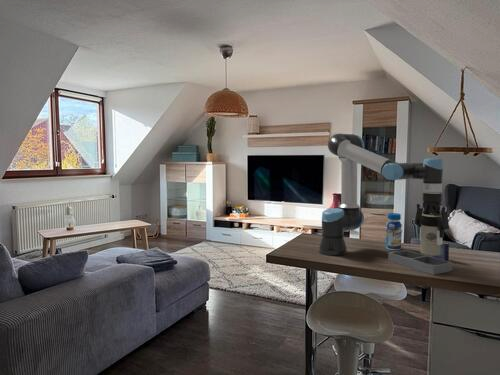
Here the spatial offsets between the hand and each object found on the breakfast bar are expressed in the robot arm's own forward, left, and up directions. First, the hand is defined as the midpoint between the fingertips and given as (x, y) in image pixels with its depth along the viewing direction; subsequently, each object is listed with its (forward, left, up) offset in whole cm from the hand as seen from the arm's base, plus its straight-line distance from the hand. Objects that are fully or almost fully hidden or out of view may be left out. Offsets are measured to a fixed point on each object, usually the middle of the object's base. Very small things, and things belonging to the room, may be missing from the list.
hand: (430, 242), depth 150 cm
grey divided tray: (-6, 0, -12) cm, 14 cm away
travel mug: (0, 0, -5) cm, 5 cm away
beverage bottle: (-33, +14, -12) cm, 38 cm away
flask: (-8, +18, -13) cm, 23 cm away
